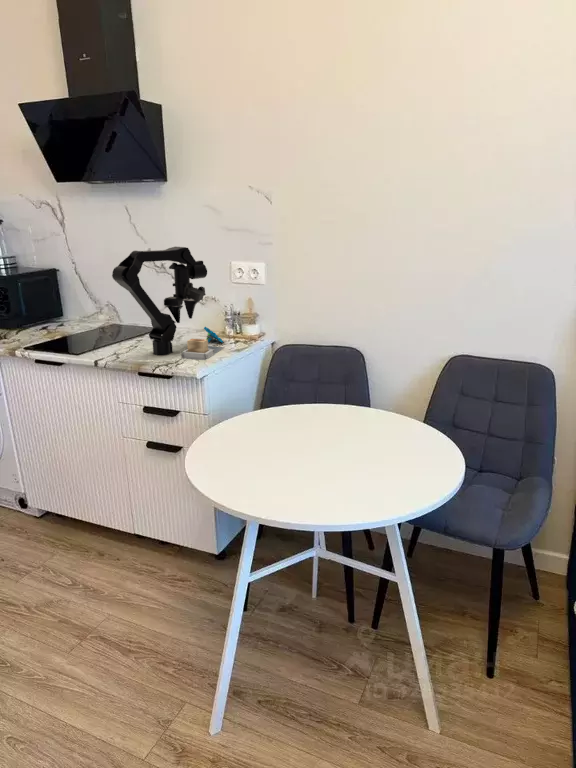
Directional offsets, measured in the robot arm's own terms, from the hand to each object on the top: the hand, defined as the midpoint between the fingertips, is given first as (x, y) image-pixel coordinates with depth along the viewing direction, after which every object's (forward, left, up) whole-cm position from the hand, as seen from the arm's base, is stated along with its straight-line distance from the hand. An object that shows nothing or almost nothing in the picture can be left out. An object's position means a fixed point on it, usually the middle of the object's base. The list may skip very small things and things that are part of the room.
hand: (184, 320), depth 215 cm
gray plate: (+1, -11, -12) cm, 16 cm away
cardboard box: (-3, -13, -11) cm, 17 cm away
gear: (+15, +2, -12) cm, 19 cm away
